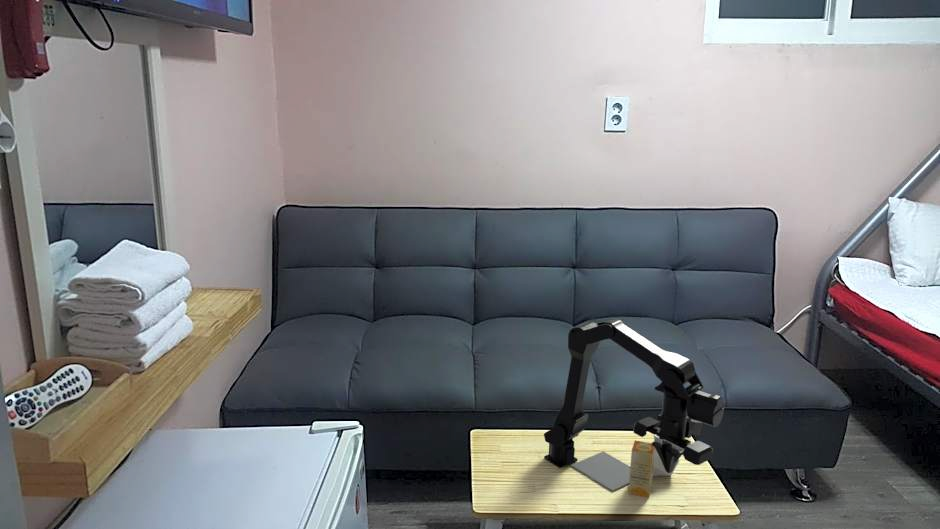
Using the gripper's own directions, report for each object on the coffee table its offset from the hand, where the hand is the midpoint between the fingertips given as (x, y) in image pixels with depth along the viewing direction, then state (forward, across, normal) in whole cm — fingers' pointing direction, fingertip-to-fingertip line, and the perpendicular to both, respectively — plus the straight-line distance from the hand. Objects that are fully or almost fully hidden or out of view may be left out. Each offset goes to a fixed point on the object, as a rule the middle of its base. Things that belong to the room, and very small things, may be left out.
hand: (668, 472), depth 167 cm
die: (+9, +10, -10) cm, 17 cm away
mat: (+9, +19, 0) cm, 21 cm away
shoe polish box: (+9, +8, 0) cm, 12 cm away
